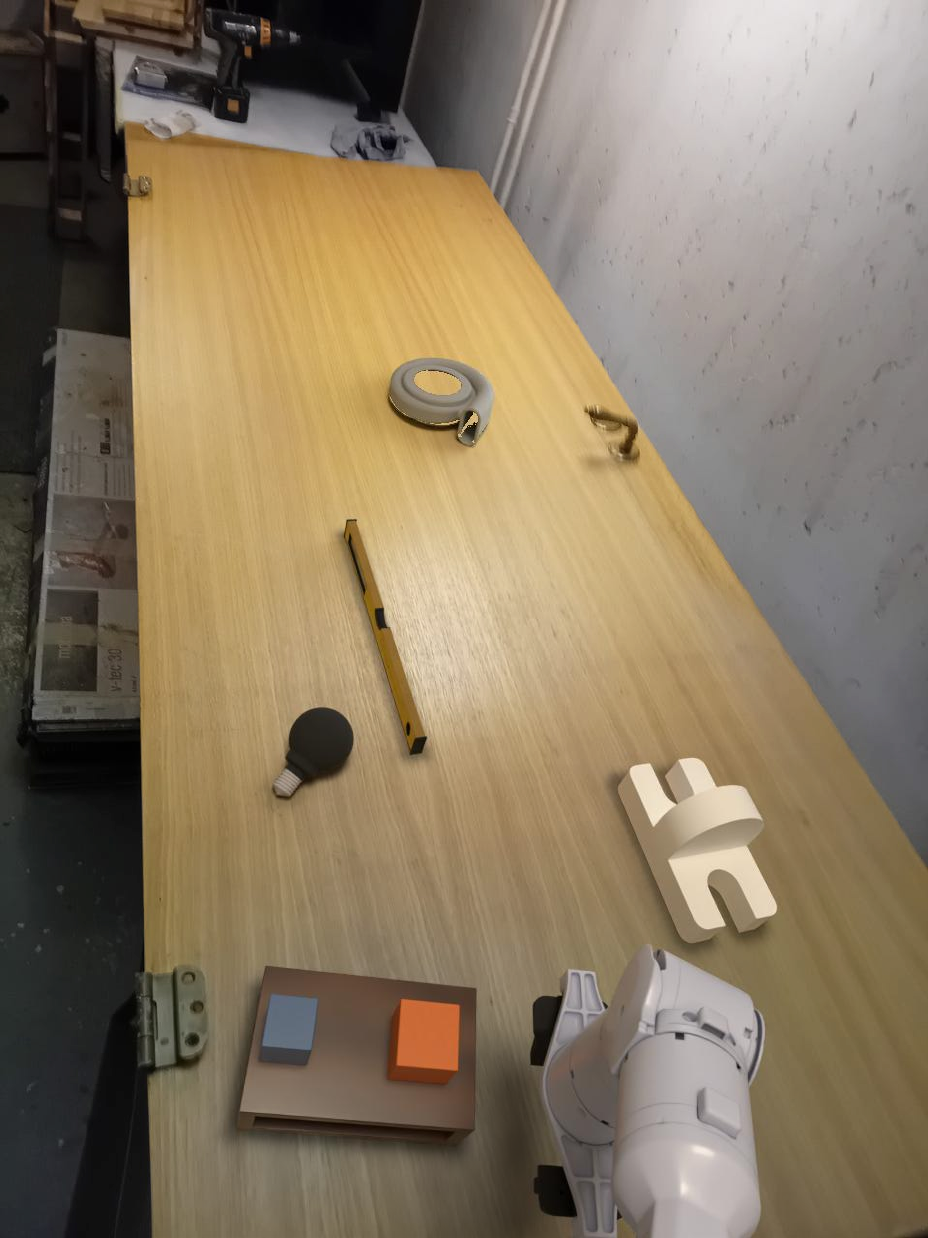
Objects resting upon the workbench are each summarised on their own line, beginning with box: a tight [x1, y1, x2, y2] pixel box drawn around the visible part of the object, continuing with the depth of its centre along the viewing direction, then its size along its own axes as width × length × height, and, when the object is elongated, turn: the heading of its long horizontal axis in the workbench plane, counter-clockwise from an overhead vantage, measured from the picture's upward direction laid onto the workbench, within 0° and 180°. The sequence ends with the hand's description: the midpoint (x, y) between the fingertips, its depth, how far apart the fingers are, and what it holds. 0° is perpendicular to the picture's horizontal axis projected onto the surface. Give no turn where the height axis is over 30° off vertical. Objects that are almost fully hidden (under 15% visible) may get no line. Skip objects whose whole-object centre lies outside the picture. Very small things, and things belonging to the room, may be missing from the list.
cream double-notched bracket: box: [616, 757, 778, 944], centre depth 83 cm, size 10×18×11 cm, turn 15°
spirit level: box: [343, 518, 428, 755], centre depth 96 cm, size 33×1×3 cm, turn 17°
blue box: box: [259, 994, 319, 1065], centre depth 59 cm, size 4×4×4 cm
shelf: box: [236, 965, 477, 1147], centre depth 64 cm, size 10×17×6 cm, turn 88°
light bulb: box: [272, 706, 355, 797], centre depth 81 cm, size 6×6×10 cm
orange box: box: [387, 999, 460, 1084], centre depth 61 cm, size 4×4×4 cm
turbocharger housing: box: [388, 357, 495, 447], centre depth 129 cm, size 17×6×15 cm
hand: (545, 1122), depth 57 cm, fingers open, 7 cm apart
